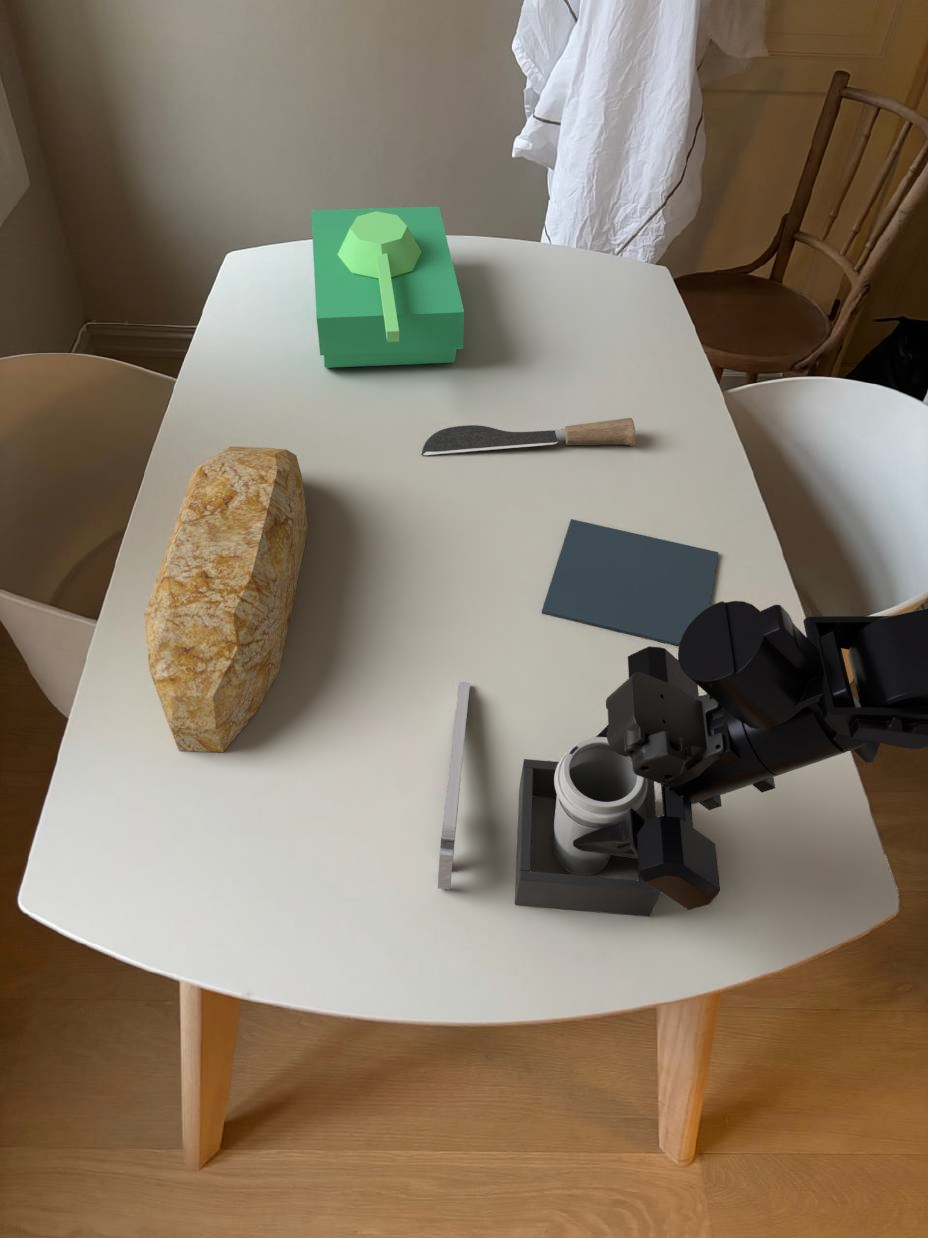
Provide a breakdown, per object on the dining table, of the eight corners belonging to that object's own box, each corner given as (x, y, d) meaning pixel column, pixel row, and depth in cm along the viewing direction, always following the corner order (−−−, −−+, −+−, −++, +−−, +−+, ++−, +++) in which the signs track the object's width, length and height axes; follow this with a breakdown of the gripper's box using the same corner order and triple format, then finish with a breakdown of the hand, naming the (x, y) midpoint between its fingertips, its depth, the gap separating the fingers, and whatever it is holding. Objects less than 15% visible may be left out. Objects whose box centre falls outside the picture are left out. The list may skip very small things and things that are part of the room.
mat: (717, 554, 100) (718, 551, 99) (702, 652, 91) (703, 649, 90) (570, 521, 102) (571, 518, 102) (541, 613, 93) (541, 610, 93)
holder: (643, 797, 80) (653, 769, 76) (650, 917, 73) (661, 892, 70) (519, 787, 80) (523, 758, 77) (514, 905, 73) (519, 879, 70)
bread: (219, 476, 105) (204, 402, 97) (317, 481, 105) (310, 407, 97) (135, 748, 81) (107, 678, 74) (262, 754, 81) (246, 685, 74)
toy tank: (315, 326, 103) (308, 182, 126) (324, 417, 113) (316, 268, 135) (474, 319, 105) (439, 179, 128) (470, 409, 114) (438, 264, 137)
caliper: (450, 893, 74) (453, 856, 69) (437, 892, 74) (438, 855, 69) (470, 686, 87) (473, 643, 82) (458, 684, 87) (461, 641, 82)
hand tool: (417, 419, 110) (626, 402, 112) (419, 440, 113) (624, 423, 114) (421, 447, 107) (637, 429, 108) (422, 468, 109) (634, 451, 110)
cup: (574, 796, 80) (594, 715, 71) (640, 844, 77) (669, 766, 68) (522, 854, 76) (536, 775, 67) (589, 906, 73) (613, 832, 64)
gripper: (684, 568, 65) (511, 655, 73) (711, 807, 52) (500, 878, 61) (766, 649, 70) (597, 721, 79) (808, 882, 58) (603, 937, 67)
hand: (576, 803), depth 71 cm, fingers closed on cup, 7 cm apart
